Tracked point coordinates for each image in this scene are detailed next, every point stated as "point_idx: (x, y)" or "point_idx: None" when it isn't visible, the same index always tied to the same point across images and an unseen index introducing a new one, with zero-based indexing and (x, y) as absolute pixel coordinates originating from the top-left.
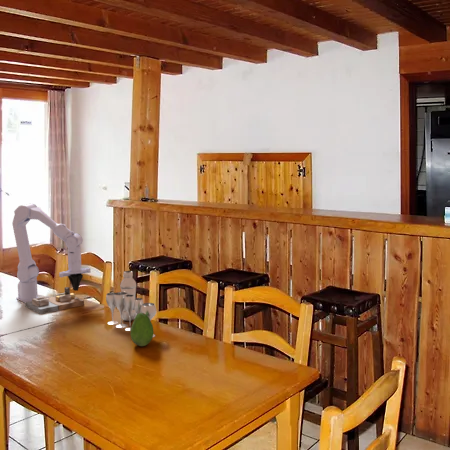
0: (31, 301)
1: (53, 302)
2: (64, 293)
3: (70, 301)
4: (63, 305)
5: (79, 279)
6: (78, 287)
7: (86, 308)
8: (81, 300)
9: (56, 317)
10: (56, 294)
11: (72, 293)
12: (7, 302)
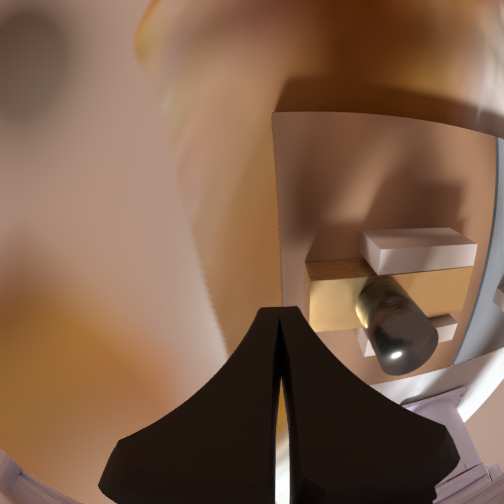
0: (501, 342)
1: (481, 247)
2: None
3: (395, 173)
4: (464, 130)
5: (226, 417)
6: (255, 323)
7: (302, 15)
8: (293, 127)
9: (500, 33)
10: (450, 331)
11: (316, 315)
12: (474, 407)
